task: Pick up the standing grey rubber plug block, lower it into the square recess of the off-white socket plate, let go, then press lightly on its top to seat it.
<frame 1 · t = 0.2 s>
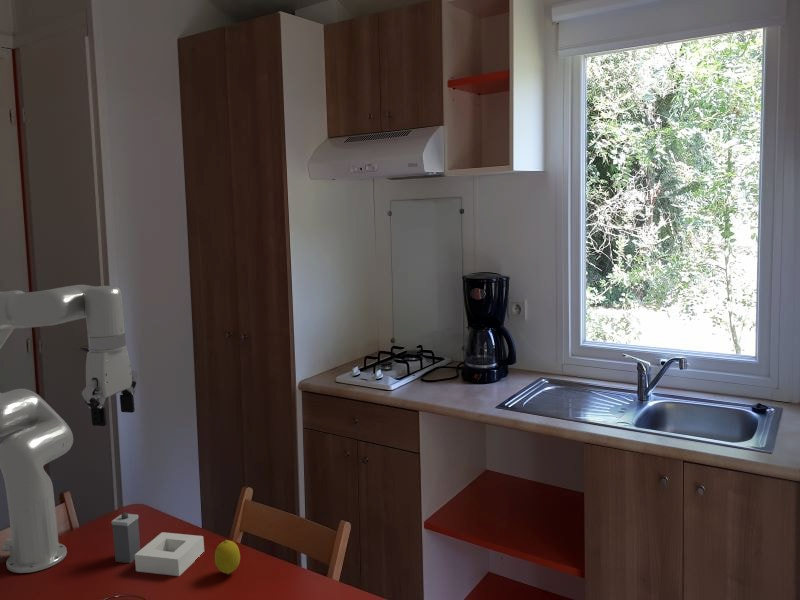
hand: (114, 418, 151), 36 cm above the table, tool pointing down, fingers open, 9 cm apart
plug: (128, 558, 161), on the table
socket: (171, 561, 159), on the table
lemon: (228, 574, 153), on the table
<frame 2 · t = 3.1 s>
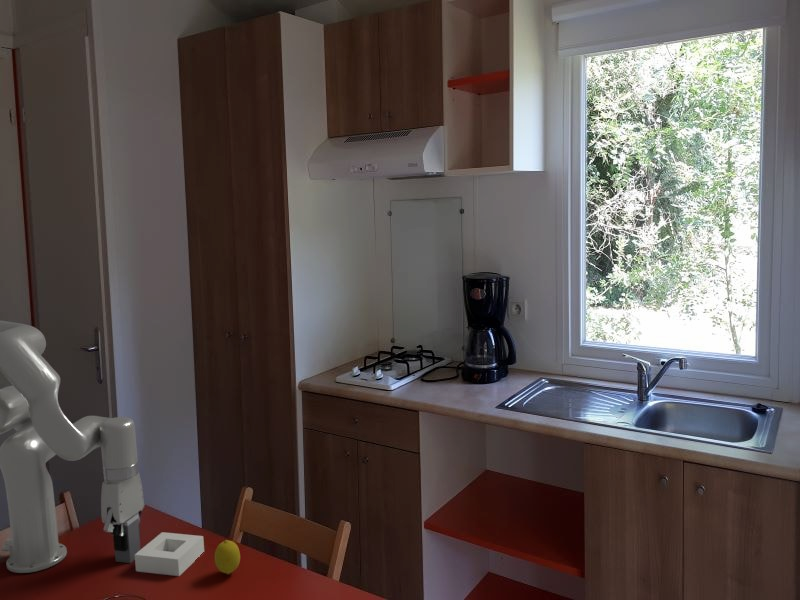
hand: (127, 544, 161), 3 cm above the table, tool pointing down, fingers closed on plug, 4 cm apart
plug: (128, 557, 161), on the table, touching gripper
everything else where it was.
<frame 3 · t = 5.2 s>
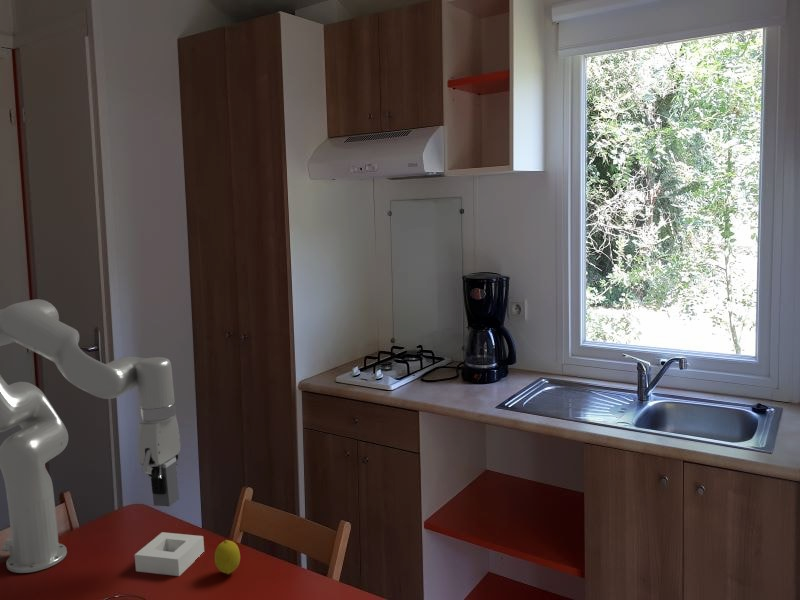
hand: (165, 488, 157), 18 cm above the table, tool pointing down, fingers closed on plug, 4 cm apart
plug: (166, 502, 157), point 14 cm above the table, touching gripper
everything else where it was.
when the fingers open (5 cm above the table, at t = 7.3 s): plug stays where it is, resting on socket.
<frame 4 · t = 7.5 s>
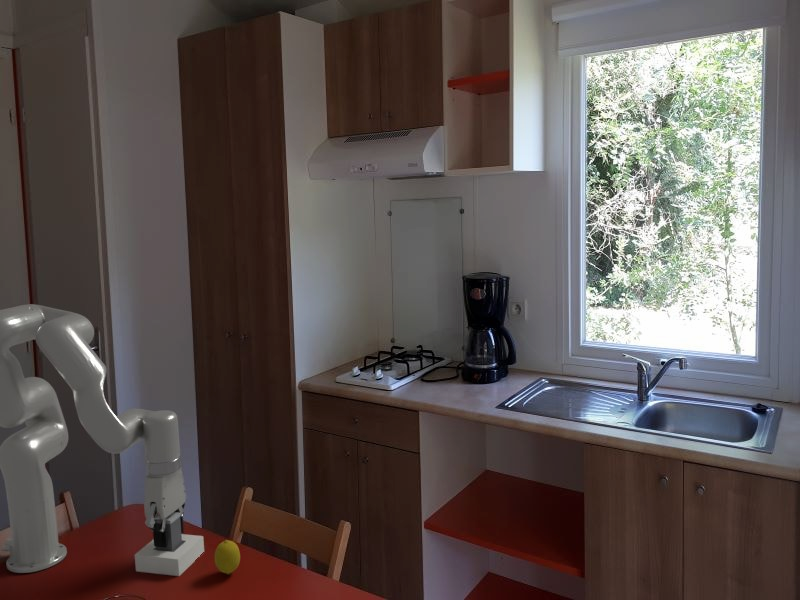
hand: (169, 538, 159), 6 cm above the table, tool pointing down, fingers open, 6 cm apart
plug: (170, 556, 159), point 1 cm above the table, touching socket
everything else where it was.
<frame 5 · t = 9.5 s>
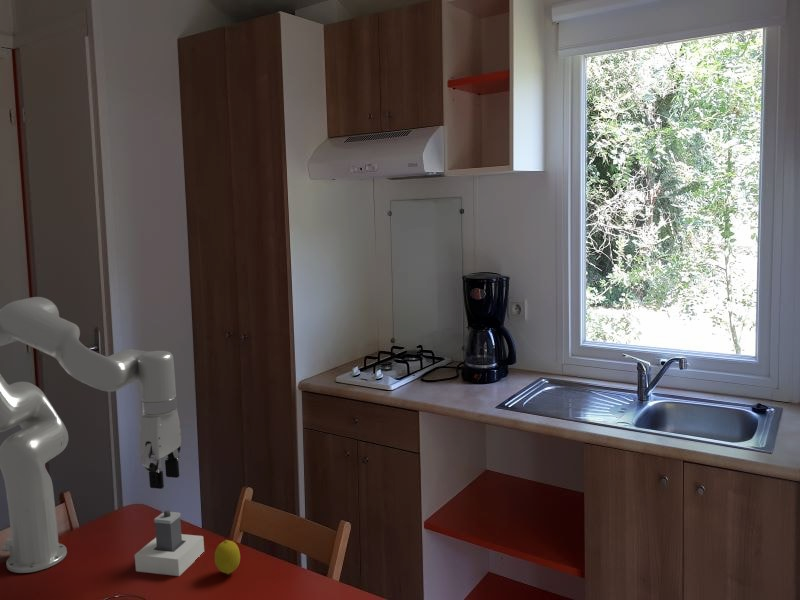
hand: (165, 481, 157), 19 cm above the table, tool pointing down, fingers open, 5 cm apart
nothing on the table moved.
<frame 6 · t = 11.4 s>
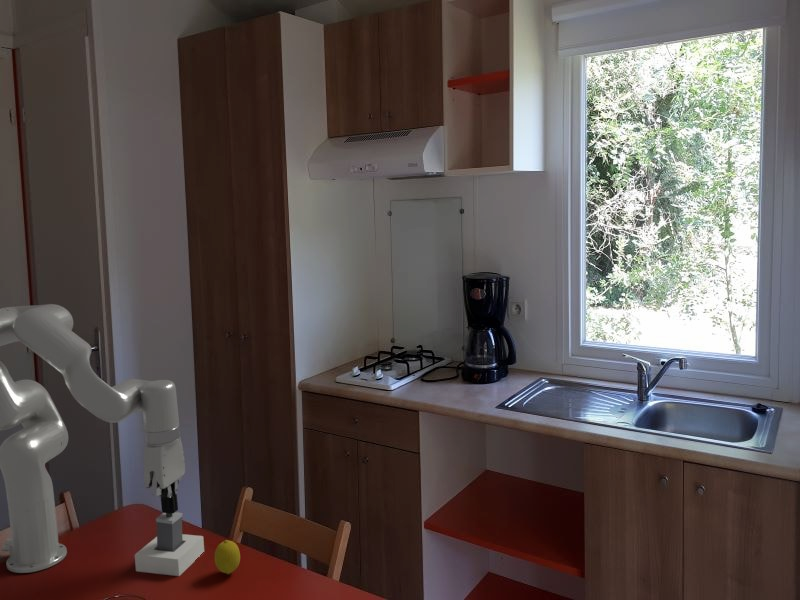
hand: (170, 511, 158), 12 cm above the table, tool pointing down, fingers closed
plug: (170, 556, 159), point 1 cm above the table, touching gripper, socket
everything else where it was.
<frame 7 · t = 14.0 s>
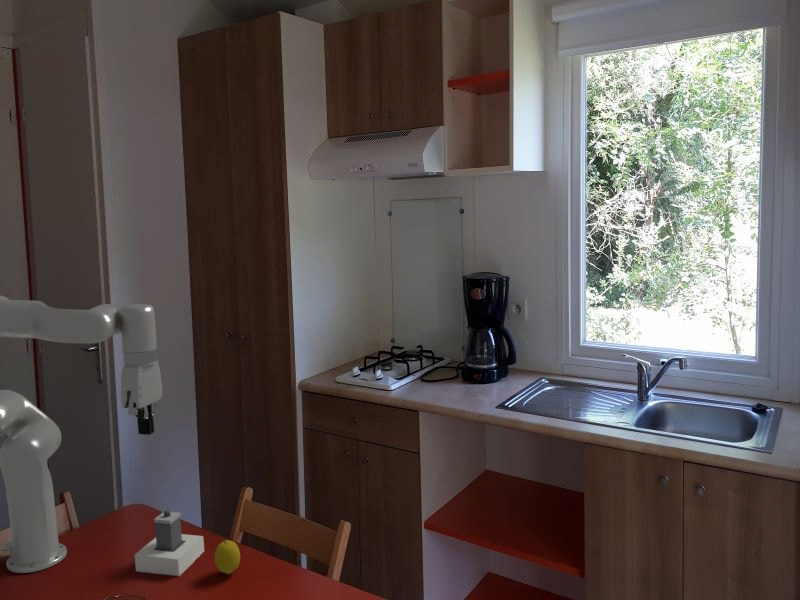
hand: (146, 433, 161), 29 cm above the table, tool pointing down, fingers closed
plug: (170, 556, 159), point 1 cm above the table, touching socket
everything else where it was.
at the end: plug 0.0 cm off-centre on the socket, point 1.2 cm above the socket's base; plug tilted 0°; the gripper is holding nothing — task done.
